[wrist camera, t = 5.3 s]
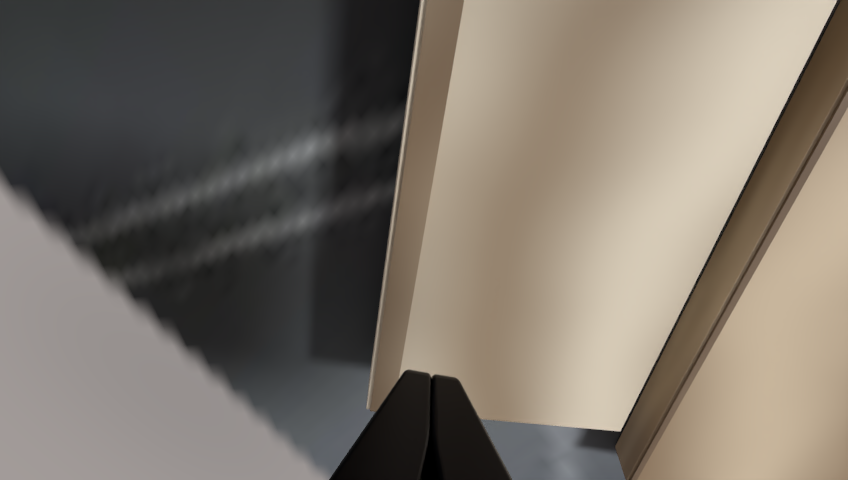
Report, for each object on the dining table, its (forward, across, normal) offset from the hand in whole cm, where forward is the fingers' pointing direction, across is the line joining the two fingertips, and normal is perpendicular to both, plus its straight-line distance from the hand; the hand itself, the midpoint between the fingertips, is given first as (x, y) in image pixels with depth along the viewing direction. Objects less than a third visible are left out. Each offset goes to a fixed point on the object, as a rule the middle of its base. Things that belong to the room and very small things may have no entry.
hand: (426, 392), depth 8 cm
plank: (+5, -2, -4) cm, 6 cm away
